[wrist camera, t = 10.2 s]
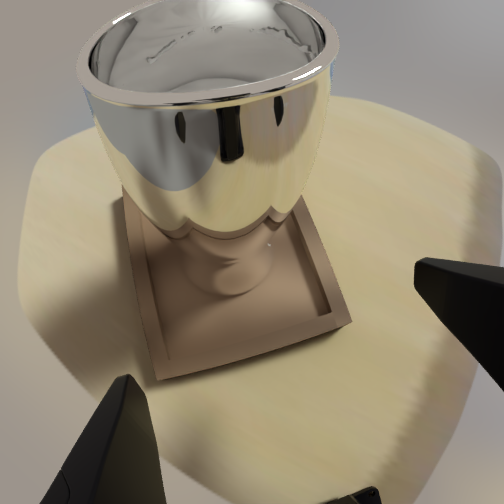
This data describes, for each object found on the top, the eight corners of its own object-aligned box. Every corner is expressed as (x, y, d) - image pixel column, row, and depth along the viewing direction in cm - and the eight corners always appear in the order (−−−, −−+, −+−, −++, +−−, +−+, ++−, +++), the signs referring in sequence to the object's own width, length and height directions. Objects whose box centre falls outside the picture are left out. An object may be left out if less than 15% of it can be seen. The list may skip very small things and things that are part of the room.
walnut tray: (344, 325, 19) (352, 322, 17) (163, 379, 17) (156, 380, 16) (275, 155, 24) (277, 142, 22) (128, 192, 22) (121, 181, 21)
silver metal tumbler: (195, 321, 18) (66, 169, 4) (160, 225, 20) (72, 25, 6) (299, 277, 19) (408, 77, 5) (253, 190, 21) (269, -22, 7)
